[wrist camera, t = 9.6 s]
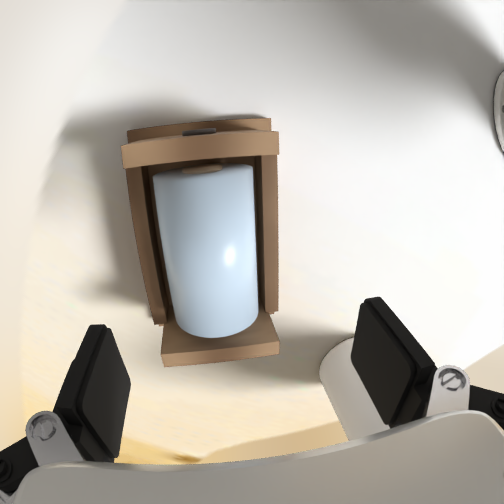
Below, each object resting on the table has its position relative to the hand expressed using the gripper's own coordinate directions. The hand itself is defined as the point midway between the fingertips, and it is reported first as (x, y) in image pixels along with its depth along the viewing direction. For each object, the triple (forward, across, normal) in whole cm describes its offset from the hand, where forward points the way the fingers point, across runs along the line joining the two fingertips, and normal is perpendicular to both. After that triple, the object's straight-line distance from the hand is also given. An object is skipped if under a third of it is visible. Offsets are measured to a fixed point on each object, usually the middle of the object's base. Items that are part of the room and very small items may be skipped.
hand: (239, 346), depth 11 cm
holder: (+14, +1, 0) cm, 14 cm away
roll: (+13, +1, 0) cm, 13 cm away
